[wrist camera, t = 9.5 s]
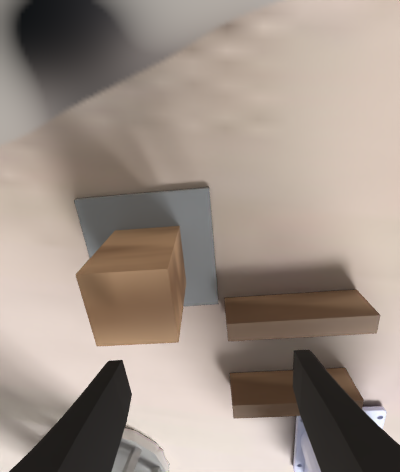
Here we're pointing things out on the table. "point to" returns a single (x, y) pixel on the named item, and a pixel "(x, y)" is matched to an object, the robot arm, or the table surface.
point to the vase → (139, 454)
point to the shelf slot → (291, 326)
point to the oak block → (135, 287)
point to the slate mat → (160, 215)
